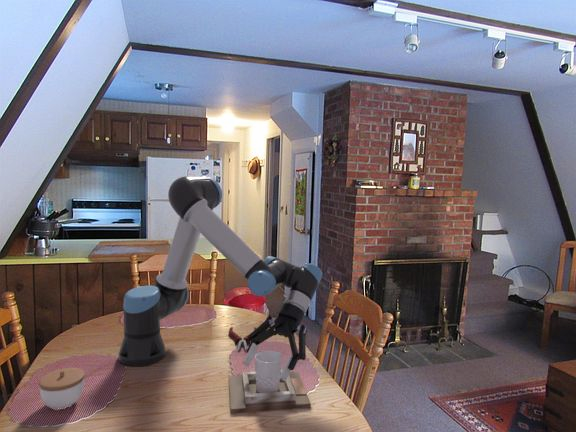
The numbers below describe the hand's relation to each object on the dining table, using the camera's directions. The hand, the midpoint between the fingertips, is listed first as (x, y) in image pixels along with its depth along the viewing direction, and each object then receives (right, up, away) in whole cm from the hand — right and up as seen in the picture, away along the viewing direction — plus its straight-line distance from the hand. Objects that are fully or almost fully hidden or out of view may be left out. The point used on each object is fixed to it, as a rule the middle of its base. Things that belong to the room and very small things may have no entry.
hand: (263, 372), depth 116 cm
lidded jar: (-54, -6, -6) cm, 55 cm away
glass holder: (+1, -7, +3) cm, 8 cm away
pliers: (-12, -3, +39) cm, 41 cm away
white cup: (+1, -6, +2) cm, 7 cm away
